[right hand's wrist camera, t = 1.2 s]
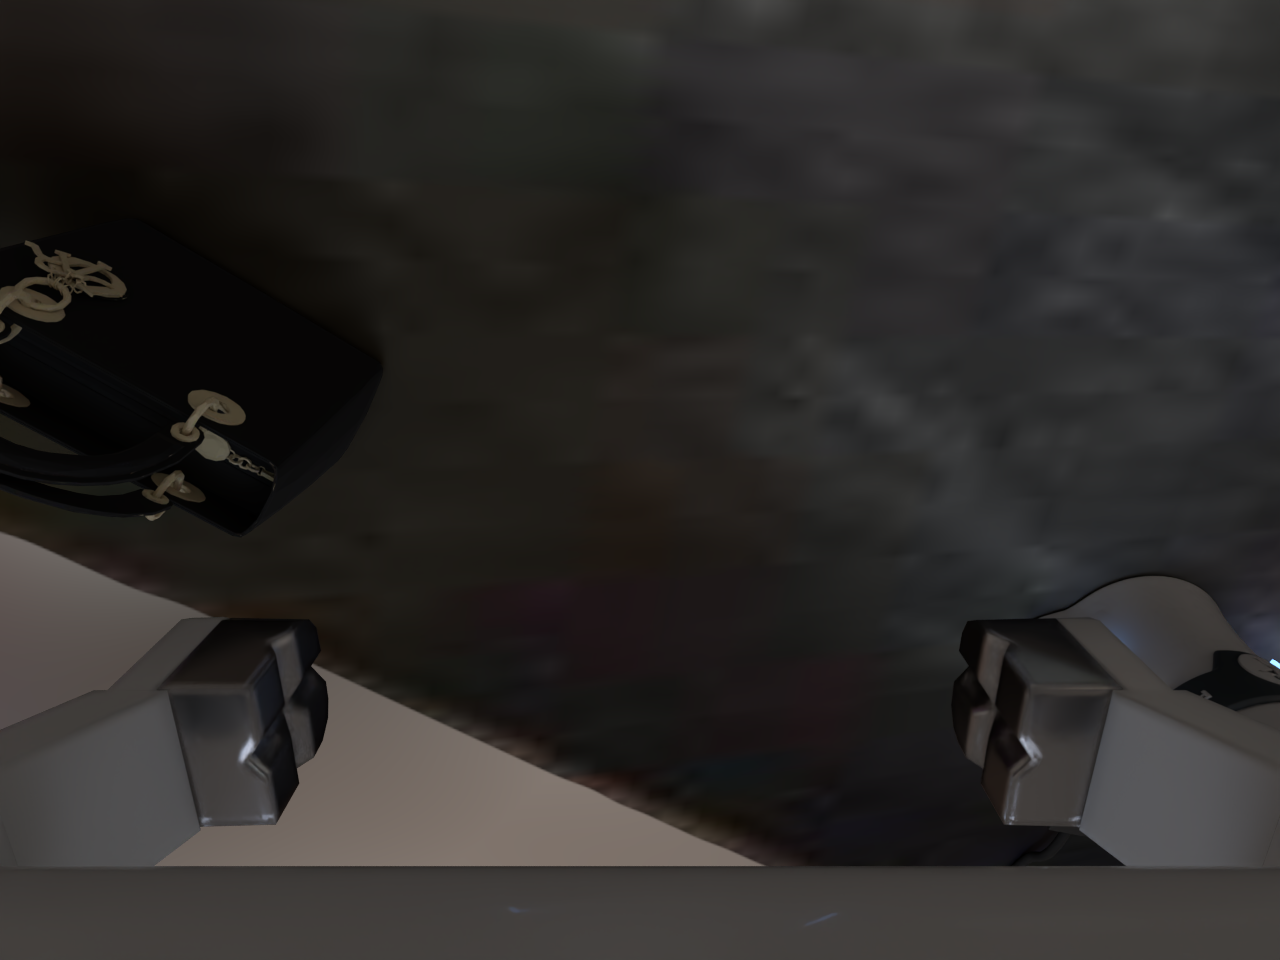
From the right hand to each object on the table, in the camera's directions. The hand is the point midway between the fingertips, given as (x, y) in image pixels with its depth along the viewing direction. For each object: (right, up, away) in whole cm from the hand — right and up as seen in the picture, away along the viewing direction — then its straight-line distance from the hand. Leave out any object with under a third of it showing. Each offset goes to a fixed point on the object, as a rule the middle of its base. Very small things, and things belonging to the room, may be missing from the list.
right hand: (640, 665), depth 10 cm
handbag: (-28, +12, +47) cm, 56 cm away
